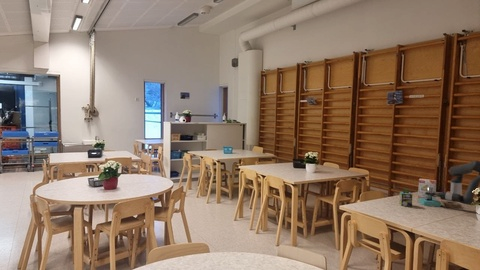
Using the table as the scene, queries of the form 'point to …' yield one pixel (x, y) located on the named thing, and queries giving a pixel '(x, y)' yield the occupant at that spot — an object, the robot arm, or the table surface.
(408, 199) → the chalk box
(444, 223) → the table surface
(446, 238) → the table surface
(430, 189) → the peg
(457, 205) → the frame
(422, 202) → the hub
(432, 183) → the cracker box
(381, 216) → the table surface
